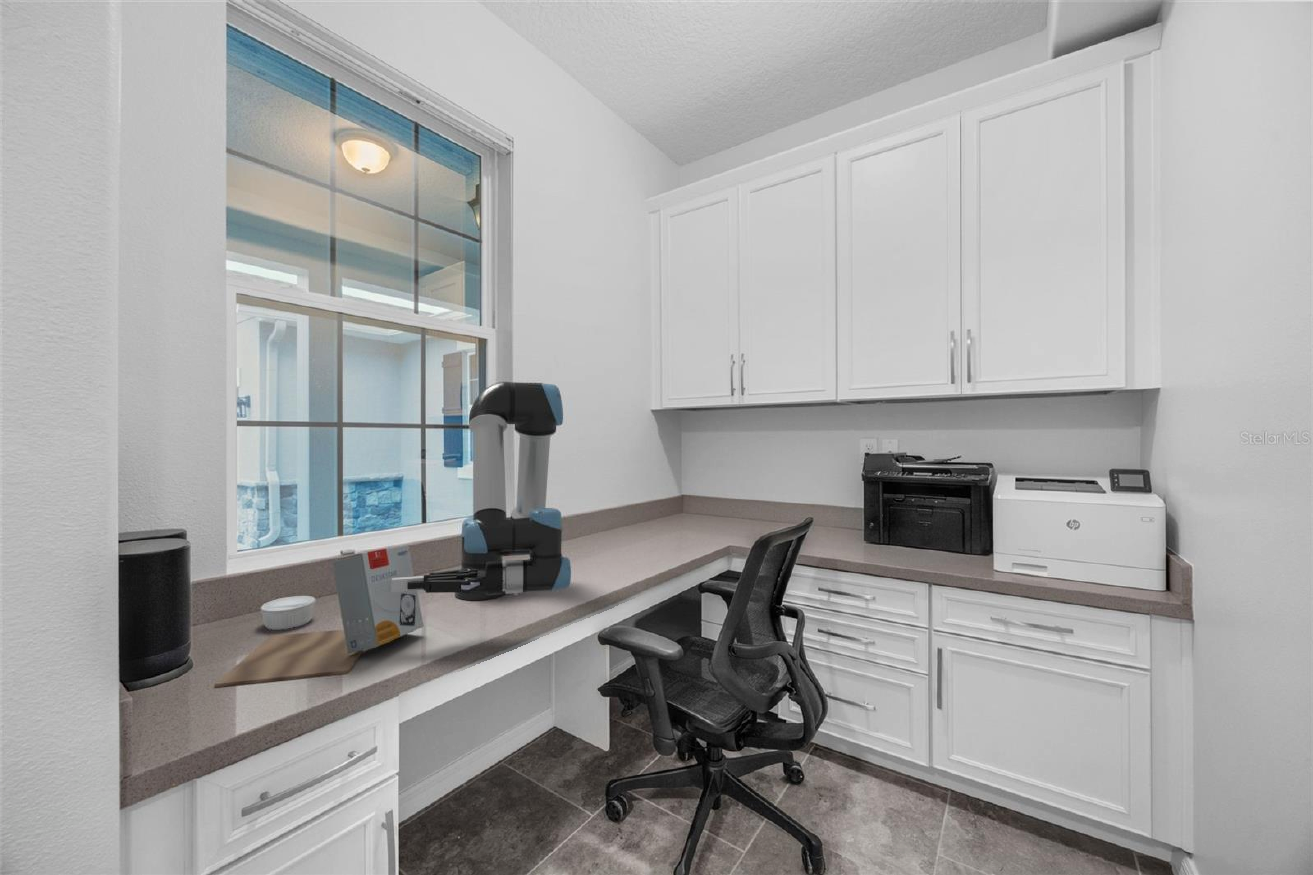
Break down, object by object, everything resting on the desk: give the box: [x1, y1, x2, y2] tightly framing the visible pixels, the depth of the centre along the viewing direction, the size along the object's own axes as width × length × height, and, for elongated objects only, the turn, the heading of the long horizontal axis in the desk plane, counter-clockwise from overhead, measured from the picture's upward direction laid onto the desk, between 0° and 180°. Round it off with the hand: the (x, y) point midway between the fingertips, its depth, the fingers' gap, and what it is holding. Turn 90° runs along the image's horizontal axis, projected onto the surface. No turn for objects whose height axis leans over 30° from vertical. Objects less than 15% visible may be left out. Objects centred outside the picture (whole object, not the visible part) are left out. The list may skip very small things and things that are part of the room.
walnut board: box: [214, 629, 364, 688], centre depth 111 cm, size 22×24×1 cm
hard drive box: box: [331, 544, 425, 654], centre depth 116 cm, size 16×8×20 cm, turn 168°
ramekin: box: [260, 595, 316, 631], centre depth 129 cm, size 11×11×5 cm
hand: (392, 585), depth 114 cm, fingers closed
